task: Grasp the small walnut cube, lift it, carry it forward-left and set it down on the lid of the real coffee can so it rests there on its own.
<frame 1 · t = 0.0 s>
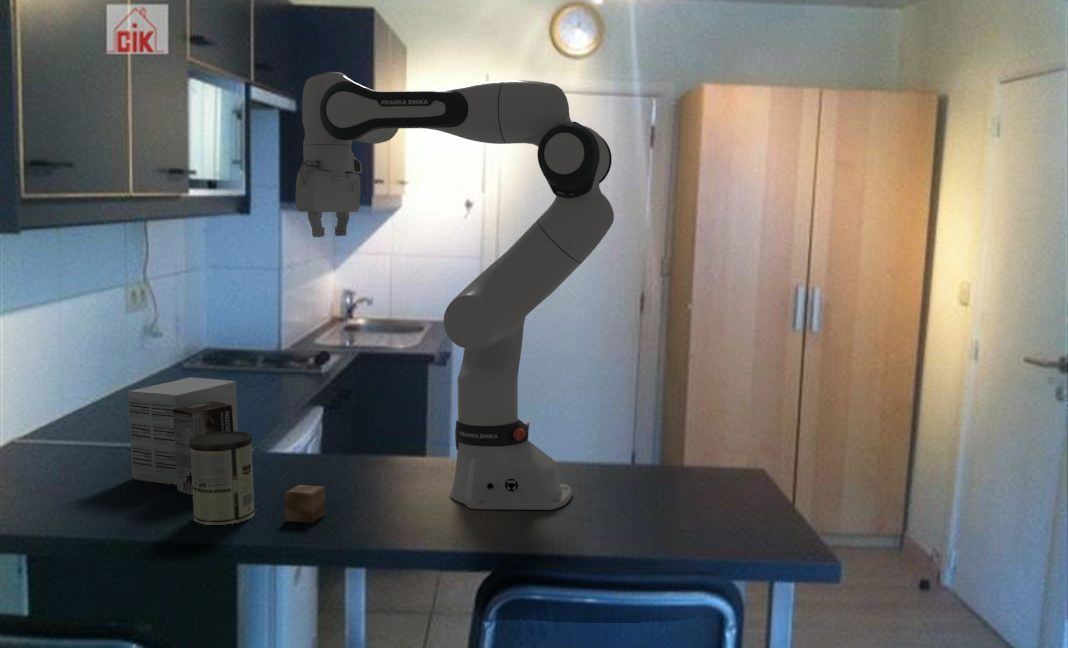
hand: (329, 236, 182), 48 cm above the breakfast bar, fingers open, 8 cm apart
coffee can: (224, 518, 168), on the breakfast bar
supplement box: (186, 473, 197), on the breakfast bar
walnut cube: (305, 518, 167), on the breakfast bar
coffee box: (206, 489, 185), on the breakfast bar
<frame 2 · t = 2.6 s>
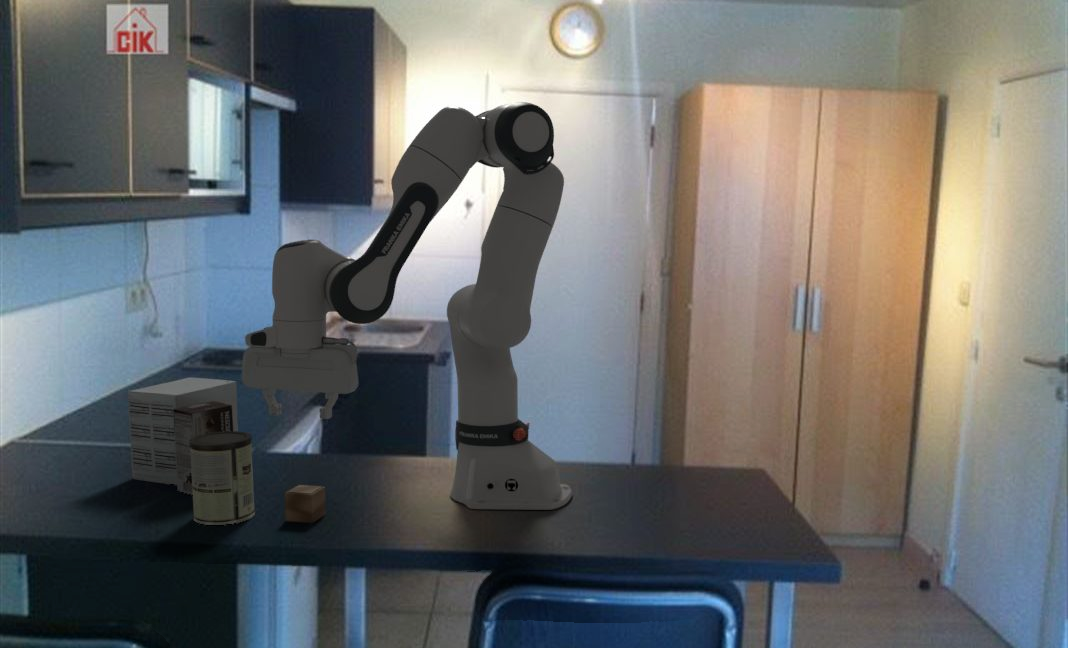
hand: (300, 416, 165), 18 cm above the breakfast bar, fingers open, 8 cm apart
nothing on the breakfast bar moved.
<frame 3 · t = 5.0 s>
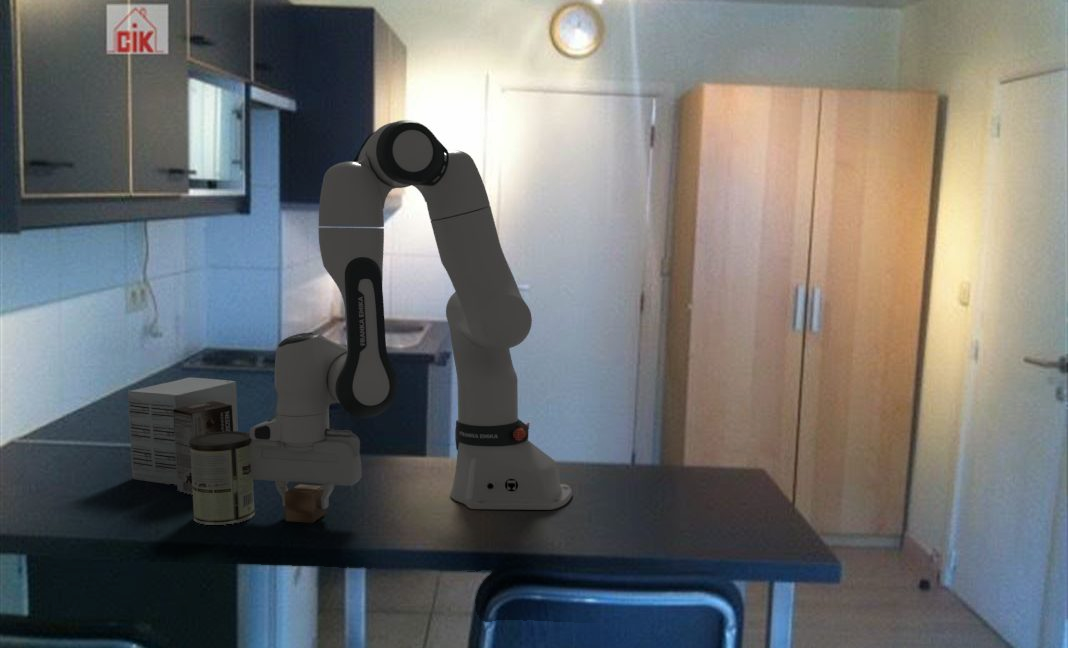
hand: (305, 506, 167), 2 cm above the breakfast bar, fingers closed on walnut cube, 5 cm apart
walnut cube: (305, 517, 167), on the breakfast bar, touching gripper
everything else where it was.
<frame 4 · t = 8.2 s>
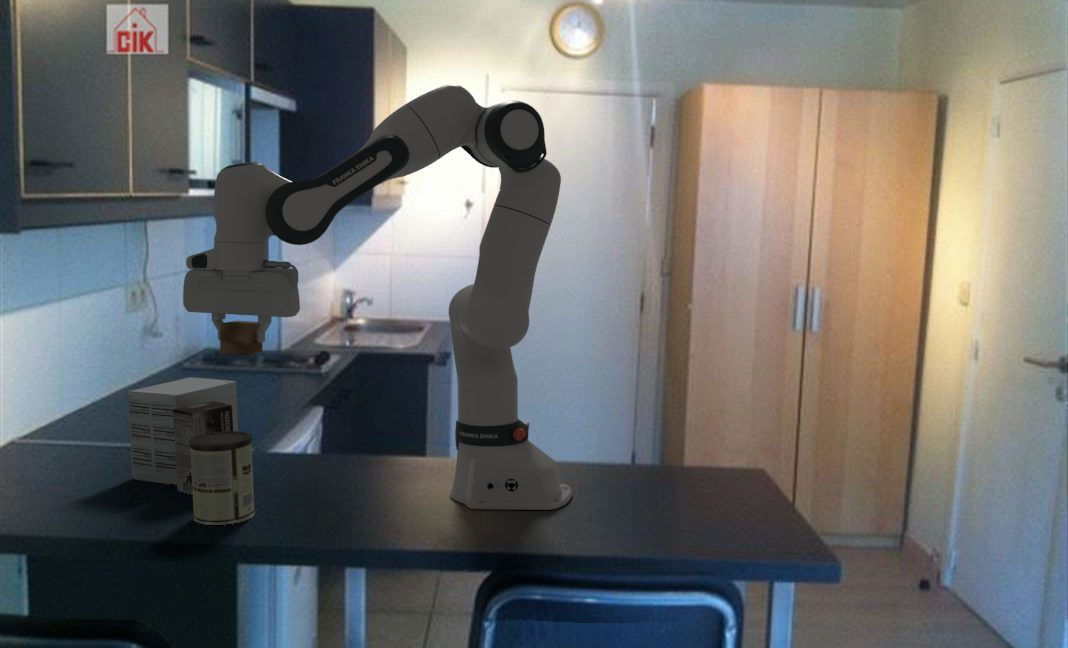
hand: (241, 341, 164), 31 cm above the breakfast bar, fingers closed on walnut cube, 5 cm apart
walnut cube: (241, 352, 164), point 29 cm above the breakfast bar, touching gripper
everything else where it was.
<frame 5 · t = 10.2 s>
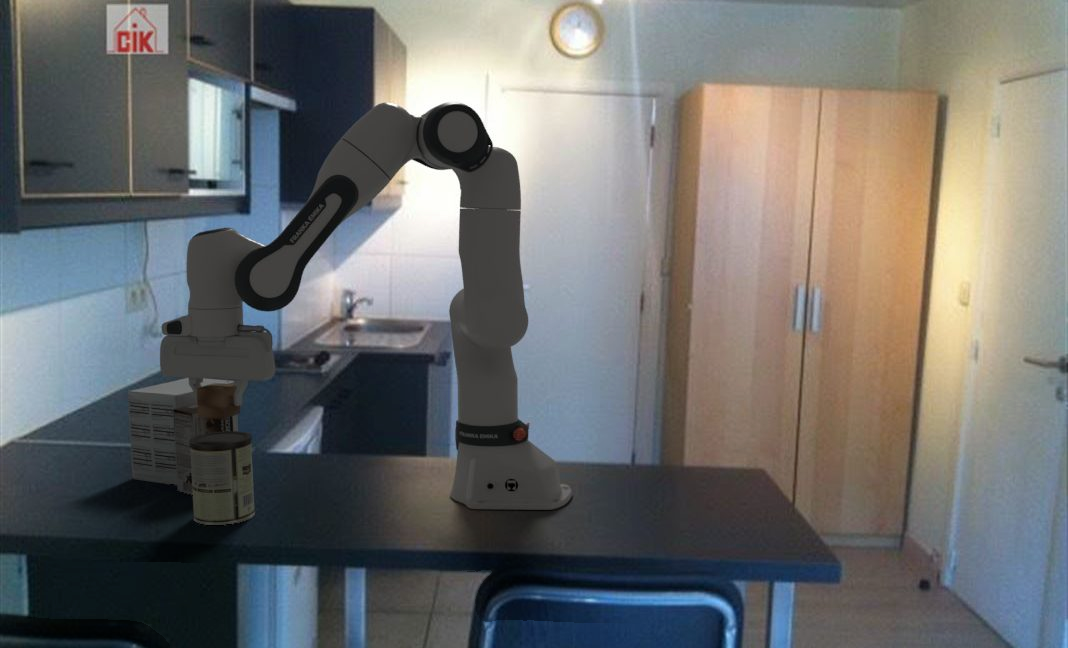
hand: (219, 404, 165), 20 cm above the breakfast bar, fingers closed on walnut cube, 5 cm apart
walnut cube: (219, 415, 165), point 18 cm above the breakfast bar, touching gripper
everything else where it was.
when the fingers open (17 cm above the breakfast bar, at t = 11.7 s): walnut cube stays where it is, resting on coffee can.
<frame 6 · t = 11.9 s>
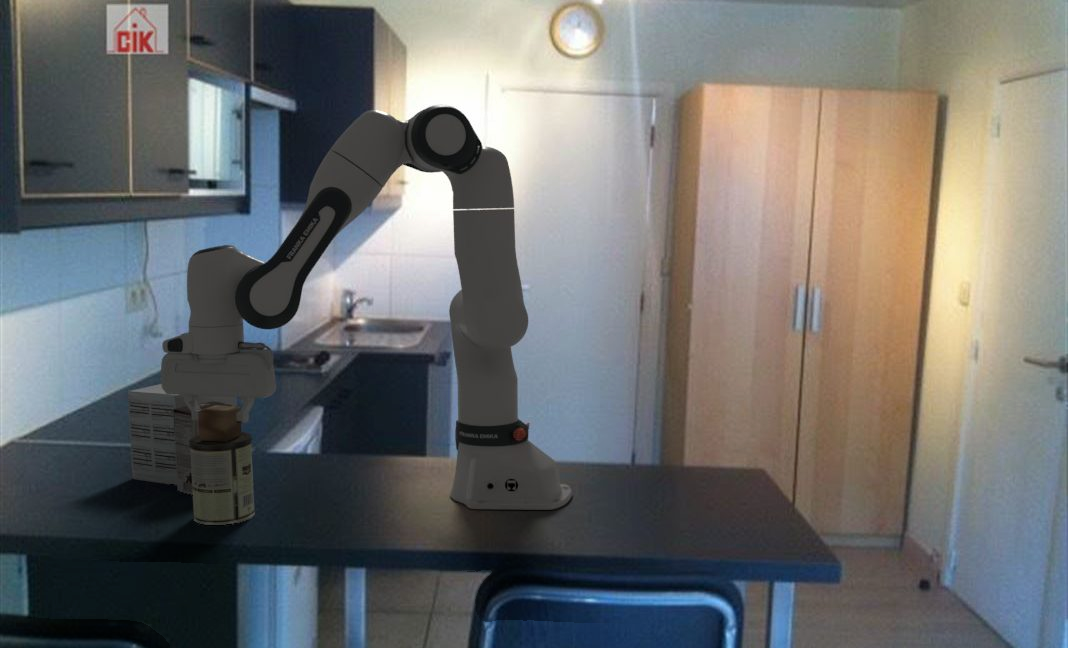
hand: (220, 421, 166), 17 cm above the breakfast bar, fingers open, 7 cm apart
coffee can: (224, 518, 168), on the breakfast bar, touching walnut cube
walnut cube: (220, 437, 166), point 14 cm above the breakfast bar, touching coffee can
everything else where it was.
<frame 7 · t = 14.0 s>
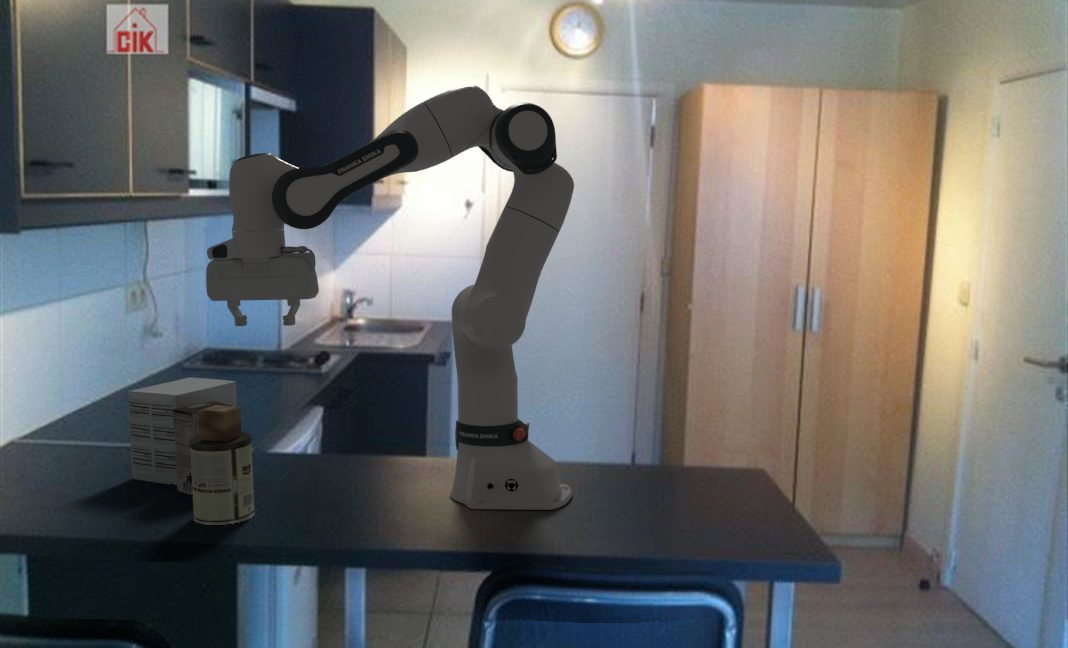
hand: (265, 325, 171), 33 cm above the breakfast bar, fingers open, 8 cm apart
nothing on the breakfast bar moved.
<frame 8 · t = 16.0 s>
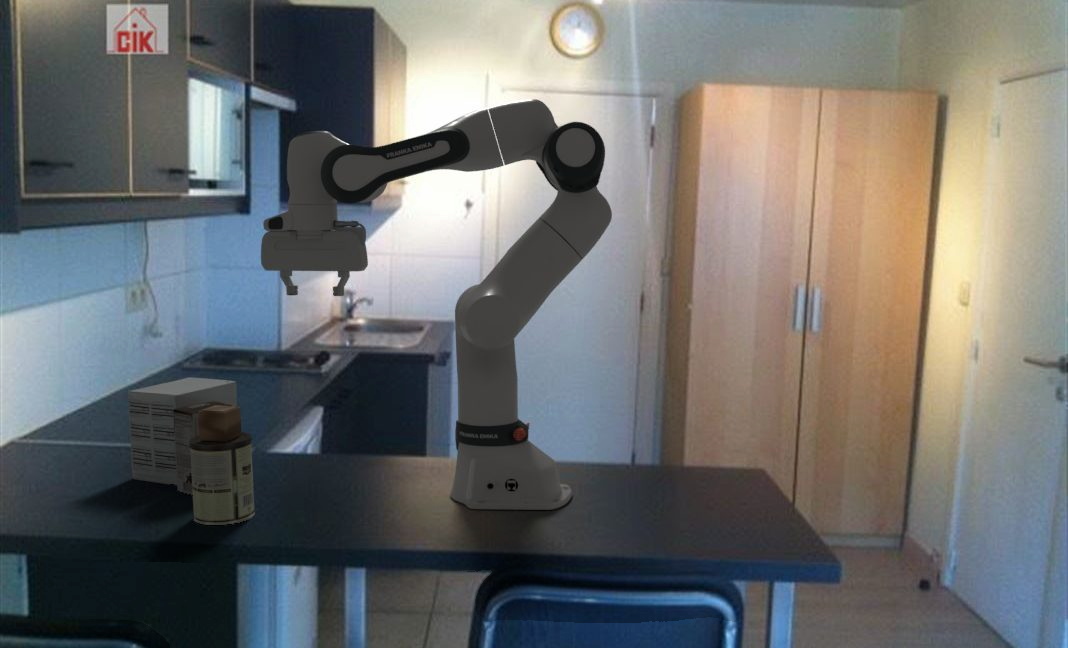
hand: (315, 295, 180), 37 cm above the breakfast bar, fingers open, 8 cm apart
nothing on the breakfast bar moved.
at the end: walnut cube inside the target area on the coffee can (0.1 cm from its centre), point 14.3 cm above the coffee can's base; walnut cube tilted 0°; the gripper is holding nothing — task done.
